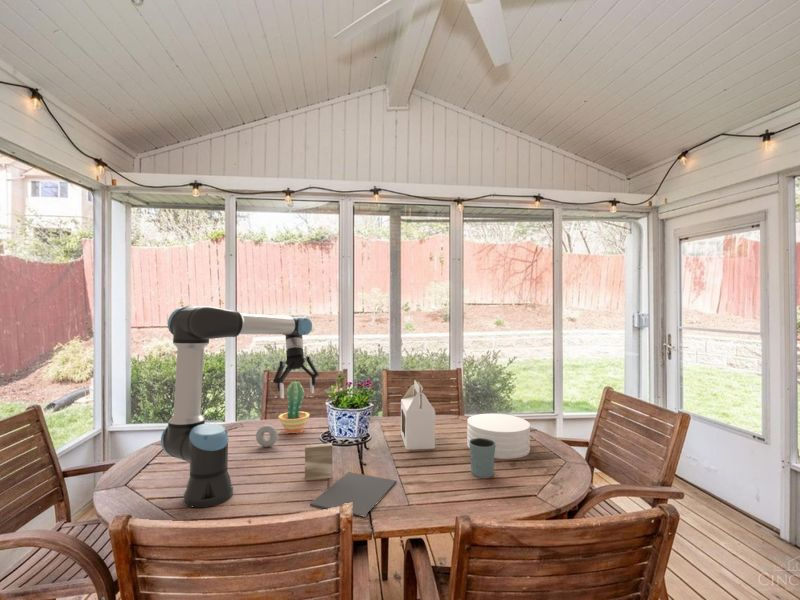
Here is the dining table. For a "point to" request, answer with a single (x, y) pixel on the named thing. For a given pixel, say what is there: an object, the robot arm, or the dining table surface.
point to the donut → (267, 442)
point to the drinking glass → (482, 457)
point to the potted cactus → (294, 409)
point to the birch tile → (318, 461)
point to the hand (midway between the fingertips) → (297, 395)
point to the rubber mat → (355, 492)
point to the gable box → (417, 419)
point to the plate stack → (501, 433)
